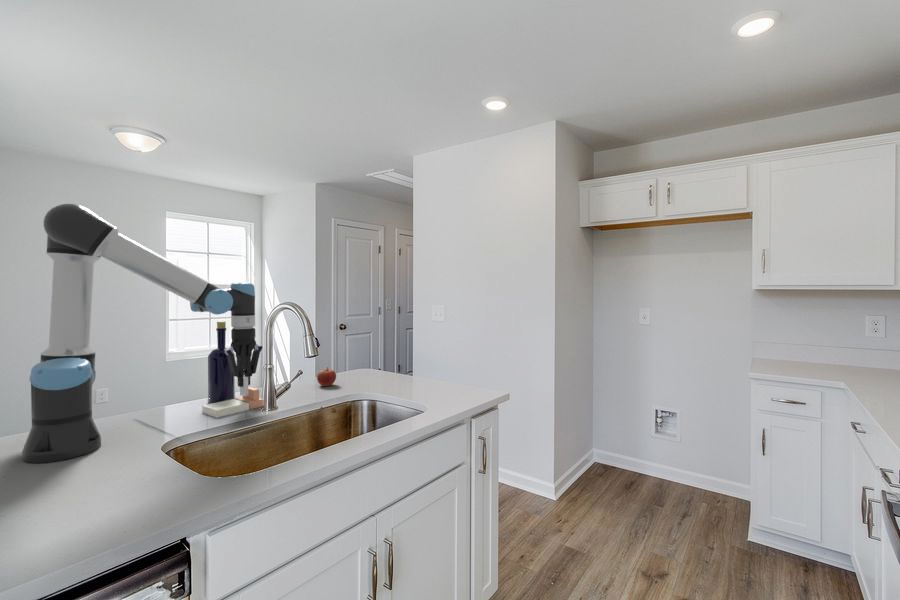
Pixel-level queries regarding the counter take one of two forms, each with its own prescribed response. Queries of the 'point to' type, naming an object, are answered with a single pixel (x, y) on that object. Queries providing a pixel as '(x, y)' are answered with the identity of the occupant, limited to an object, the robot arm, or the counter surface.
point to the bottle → (220, 370)
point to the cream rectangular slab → (225, 407)
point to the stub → (252, 398)
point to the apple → (326, 377)
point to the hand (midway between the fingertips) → (244, 395)
